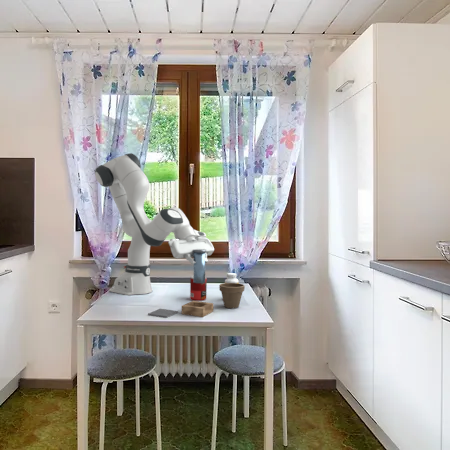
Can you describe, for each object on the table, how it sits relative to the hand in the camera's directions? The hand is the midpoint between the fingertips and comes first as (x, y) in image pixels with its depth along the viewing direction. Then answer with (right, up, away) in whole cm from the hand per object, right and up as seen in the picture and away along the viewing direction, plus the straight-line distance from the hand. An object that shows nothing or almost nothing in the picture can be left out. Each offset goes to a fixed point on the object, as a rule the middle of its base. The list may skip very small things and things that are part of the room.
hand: (200, 263), depth 168 cm
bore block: (-1, -21, +1) cm, 21 cm away
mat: (-15, -21, -1) cm, 26 cm away
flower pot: (+13, -21, +12) cm, 28 cm away
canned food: (-3, -20, +26) cm, 33 cm away
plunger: (-1, -8, +1) cm, 8 cm away
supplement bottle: (+14, -21, +25) cm, 35 cm away
